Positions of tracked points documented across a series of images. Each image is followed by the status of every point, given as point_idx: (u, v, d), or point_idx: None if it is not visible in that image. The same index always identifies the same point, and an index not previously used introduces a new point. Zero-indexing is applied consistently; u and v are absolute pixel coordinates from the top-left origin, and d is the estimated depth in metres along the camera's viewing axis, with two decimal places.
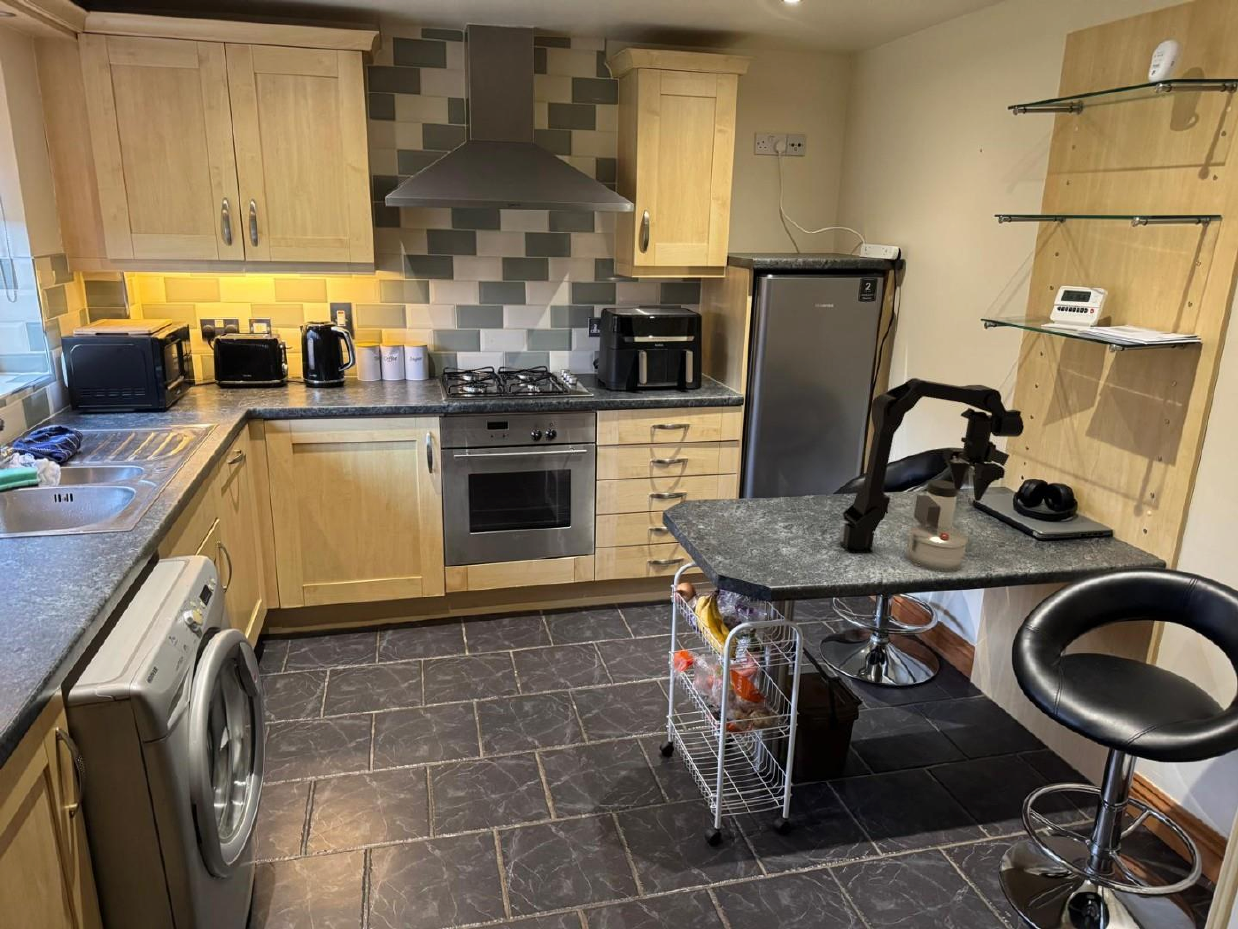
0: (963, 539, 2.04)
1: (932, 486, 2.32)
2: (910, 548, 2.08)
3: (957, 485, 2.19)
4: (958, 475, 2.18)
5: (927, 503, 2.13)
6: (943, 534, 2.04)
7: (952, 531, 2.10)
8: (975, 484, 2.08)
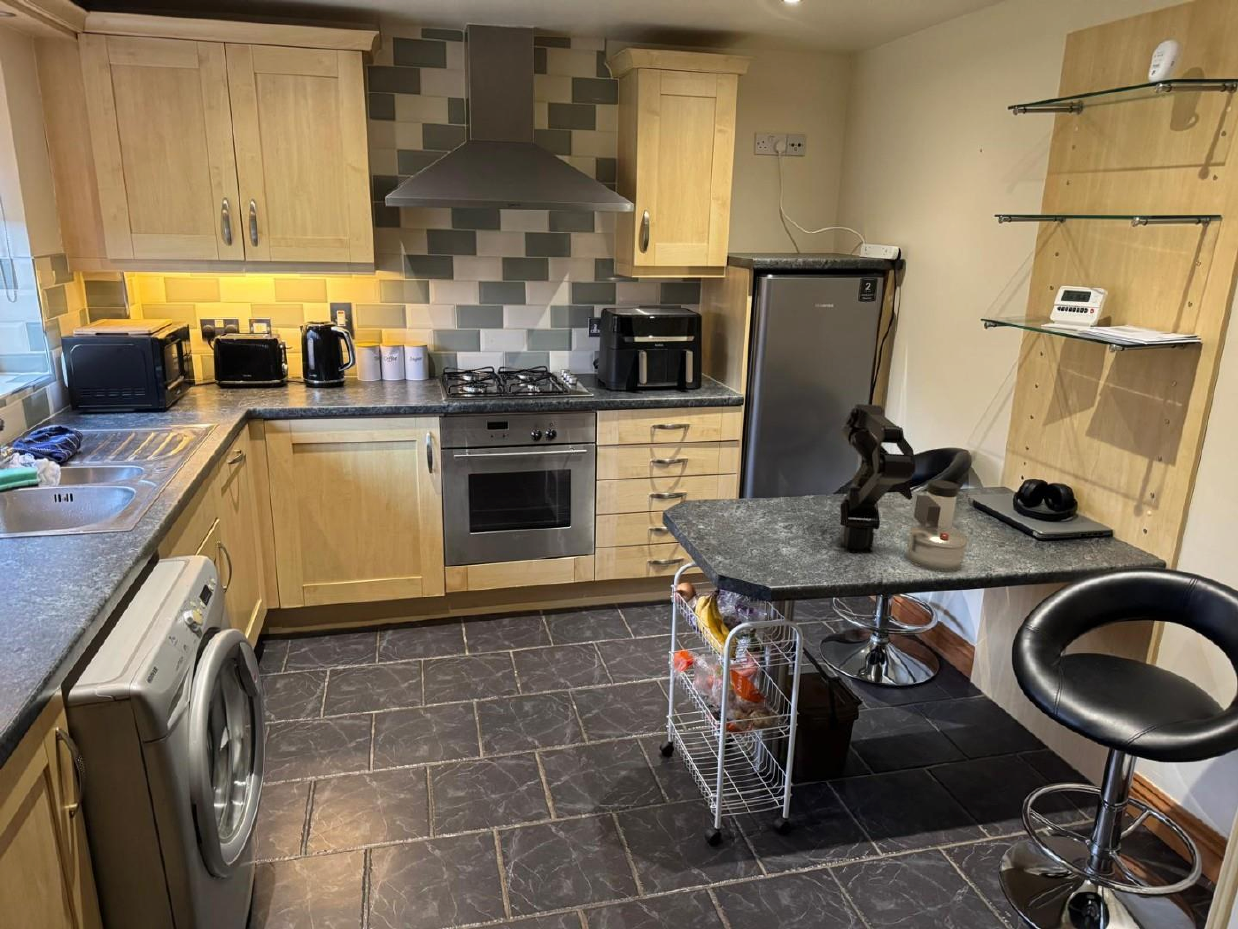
0: (963, 539, 2.04)
1: (932, 486, 2.32)
2: (910, 548, 2.08)
3: None
4: None
5: (927, 503, 2.13)
6: (943, 534, 2.04)
7: (952, 531, 2.10)
8: None
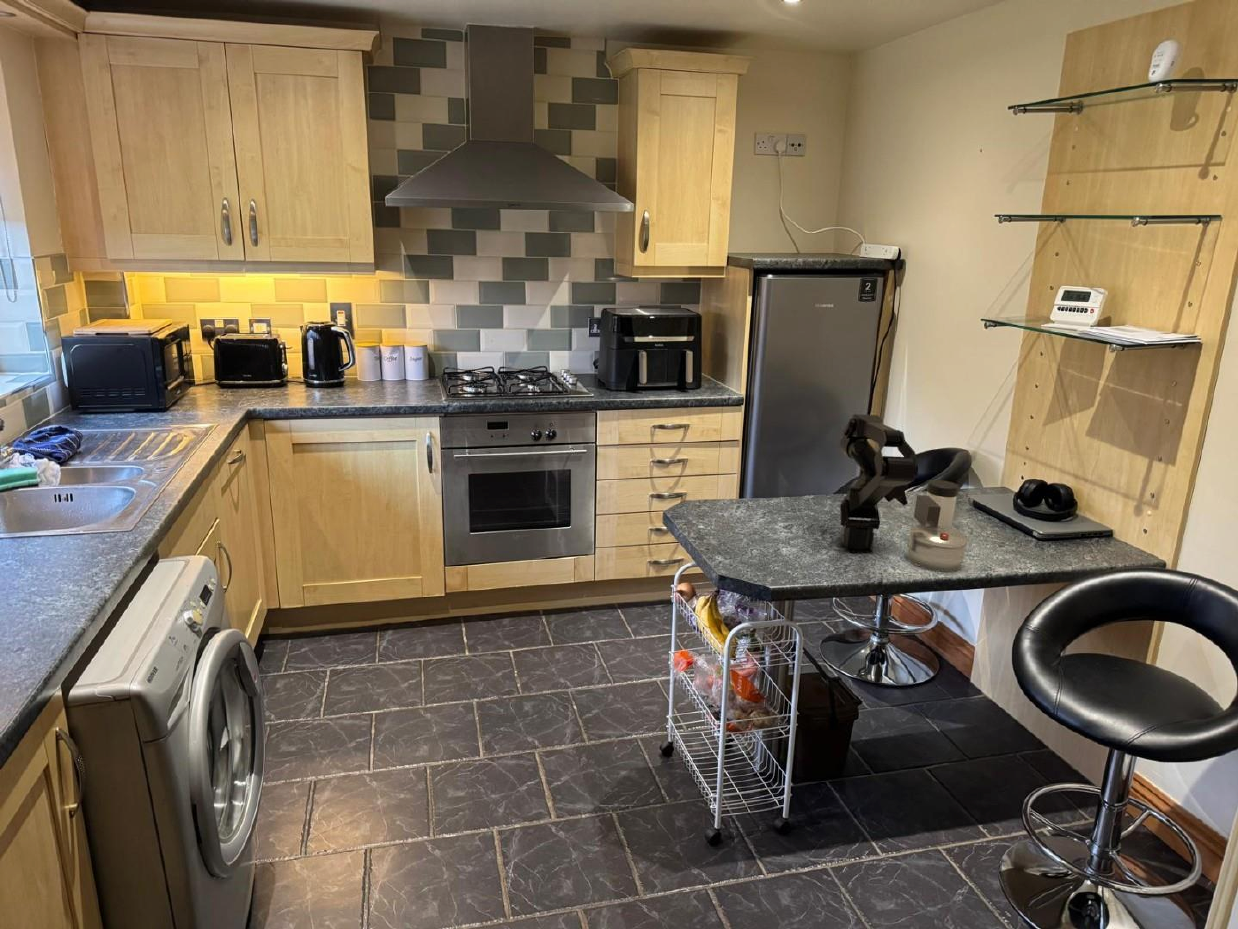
0: (963, 539, 2.04)
1: (932, 486, 2.32)
2: (910, 548, 2.08)
3: None
4: None
5: (927, 503, 2.13)
6: (943, 534, 2.04)
7: (952, 531, 2.10)
8: None
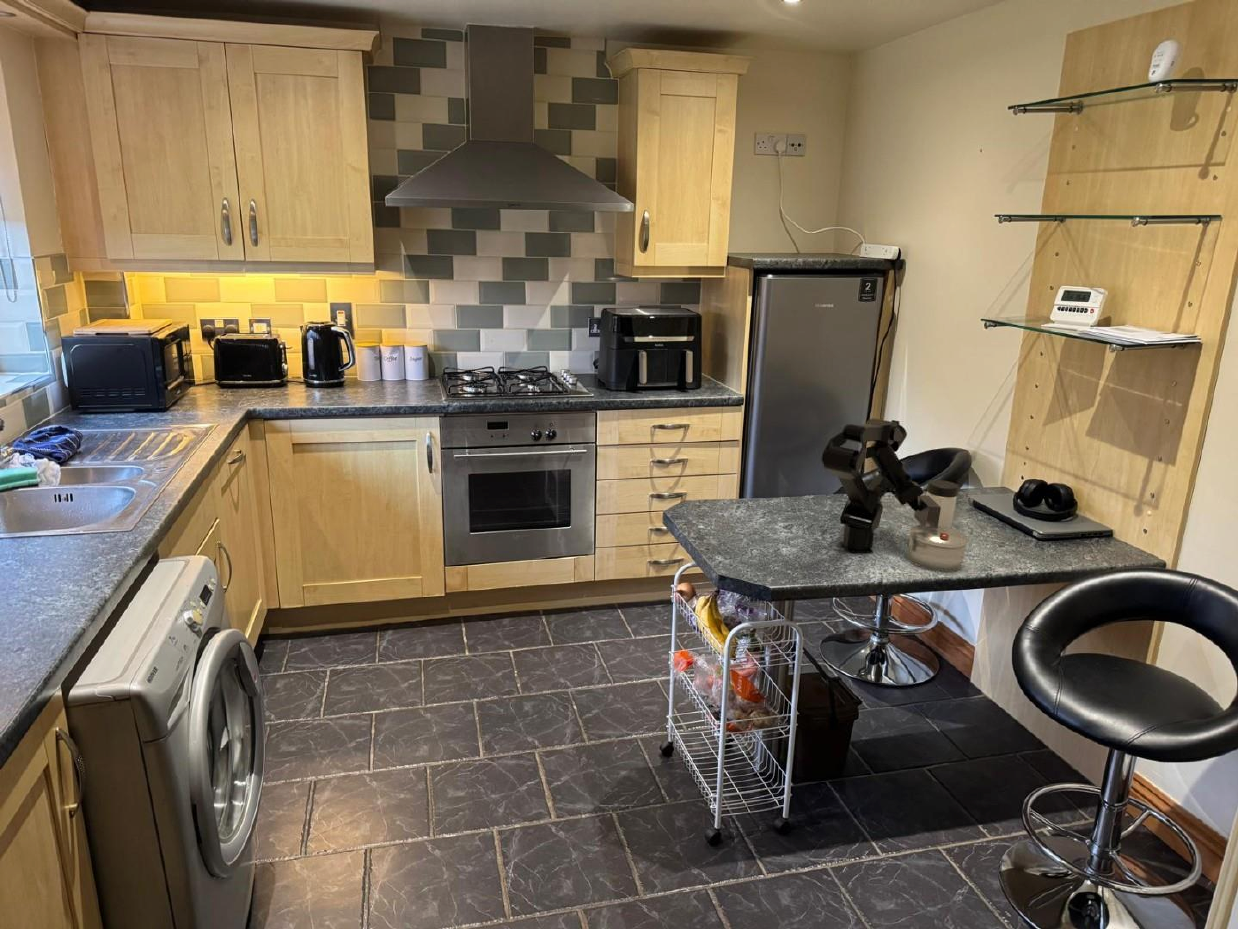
0: (963, 539, 2.04)
1: (932, 486, 2.32)
2: (910, 548, 2.08)
3: None
4: None
5: (927, 503, 2.13)
6: (943, 534, 2.04)
7: (952, 531, 2.10)
8: None
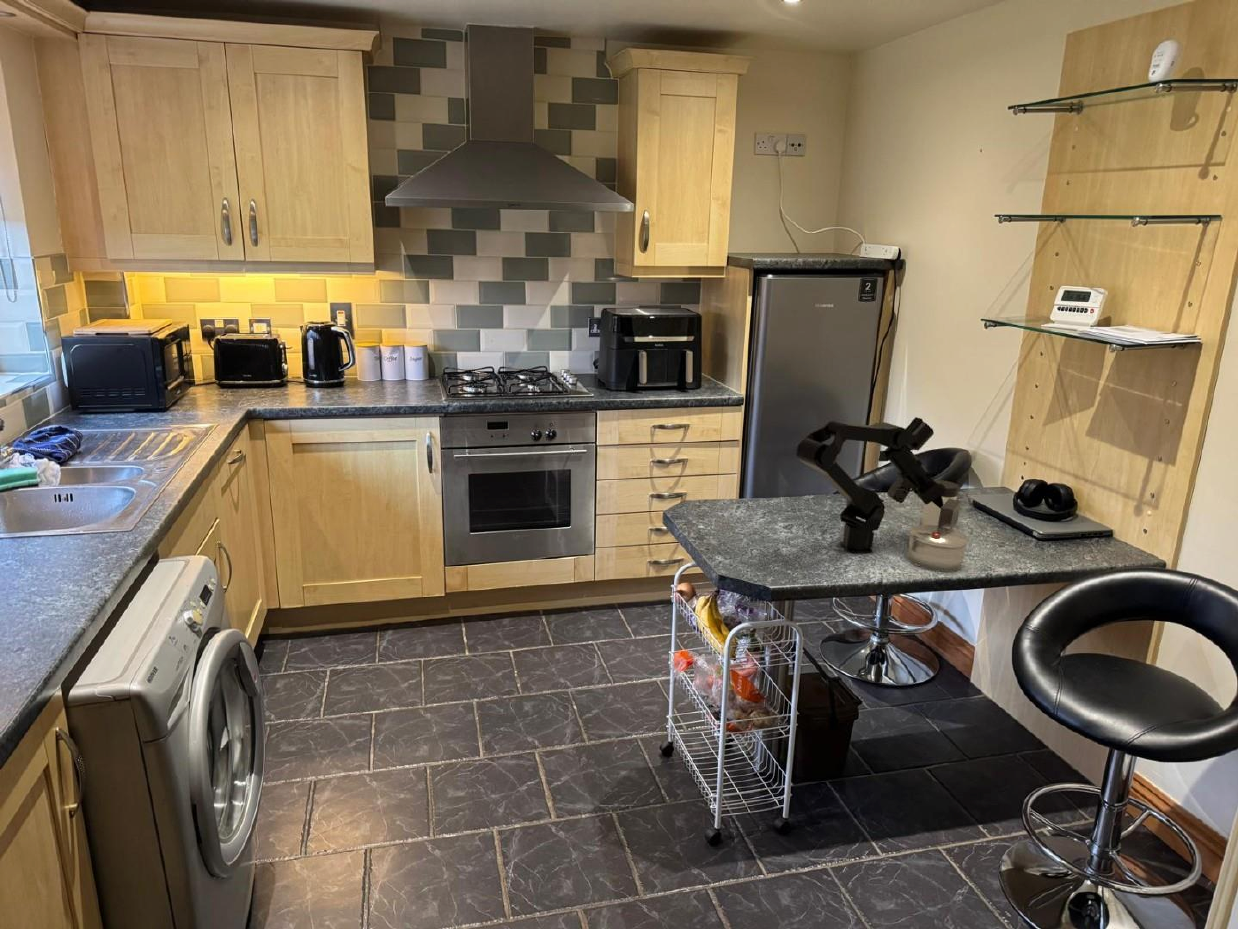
0: (957, 542, 2.02)
1: None
2: (910, 548, 2.08)
3: None
4: None
5: (944, 505, 2.13)
6: (935, 533, 2.04)
7: (959, 535, 2.07)
8: None
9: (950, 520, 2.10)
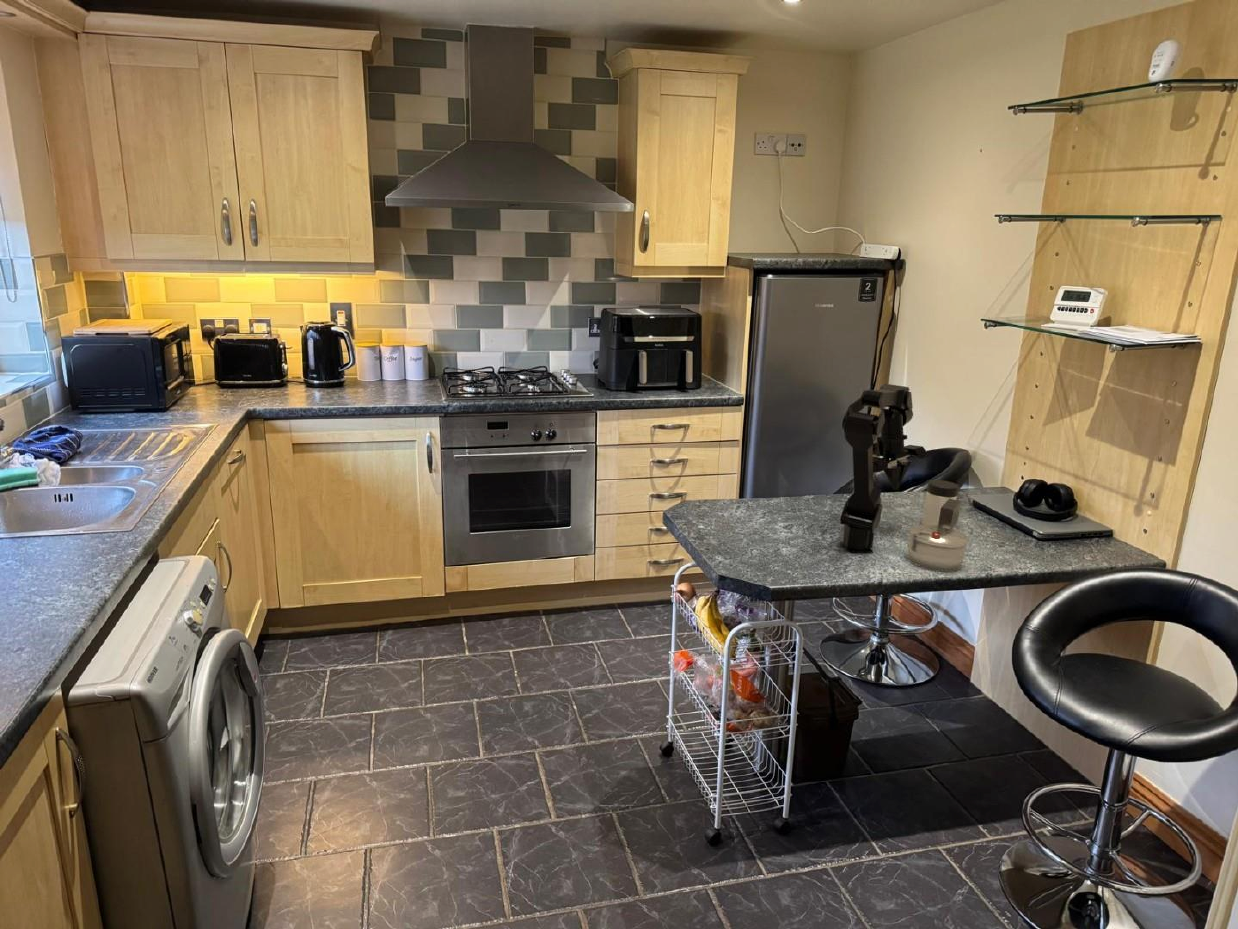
0: (957, 542, 2.02)
1: (932, 486, 2.32)
2: (910, 548, 2.08)
3: None
4: None
5: (944, 505, 2.13)
6: (935, 533, 2.04)
7: (959, 535, 2.07)
8: (905, 472, 2.20)
9: (950, 520, 2.10)
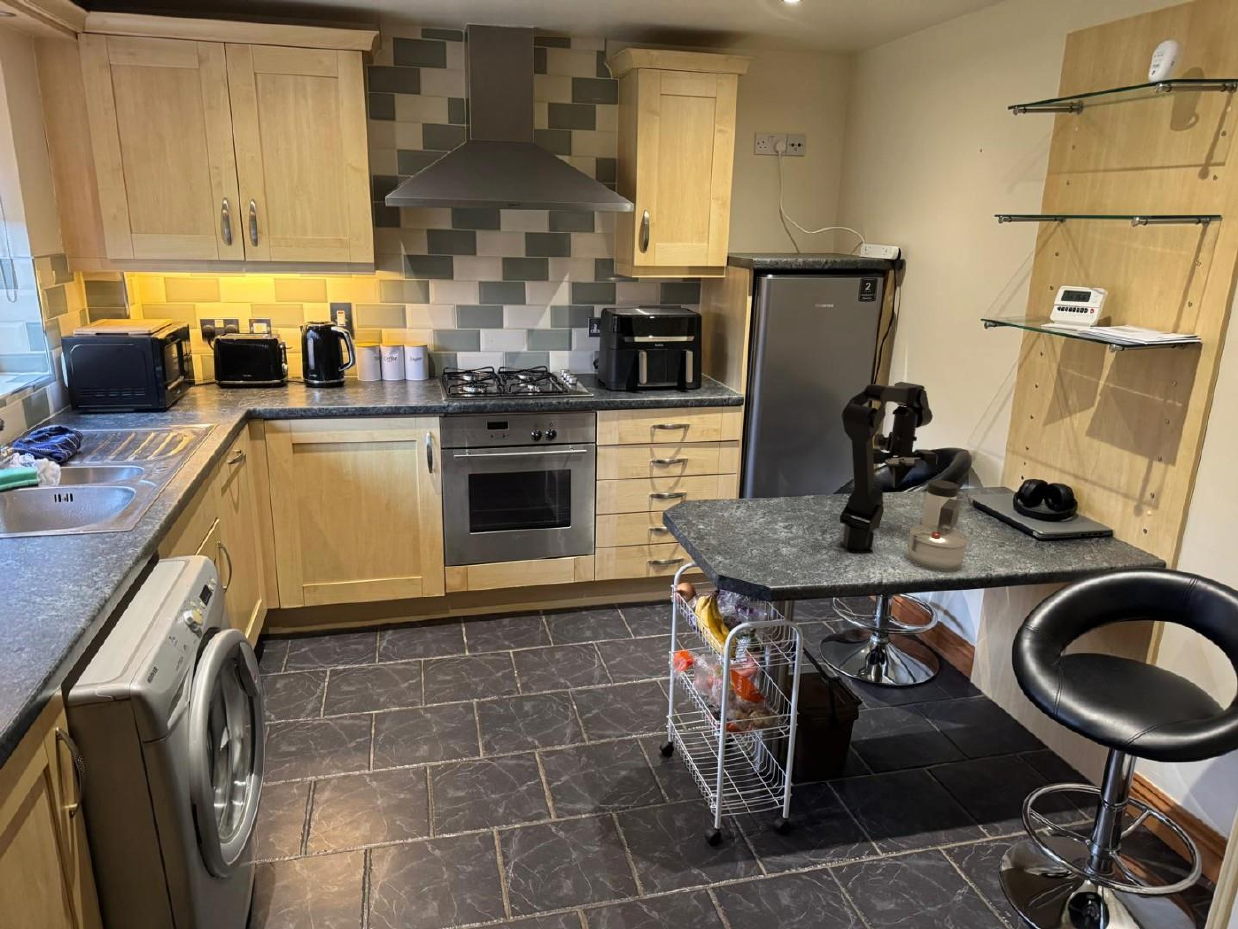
0: (957, 542, 2.02)
1: (932, 486, 2.32)
2: (910, 548, 2.08)
3: None
4: None
5: (944, 505, 2.13)
6: (935, 533, 2.04)
7: (959, 535, 2.07)
8: (906, 473, 2.20)
9: (950, 520, 2.10)
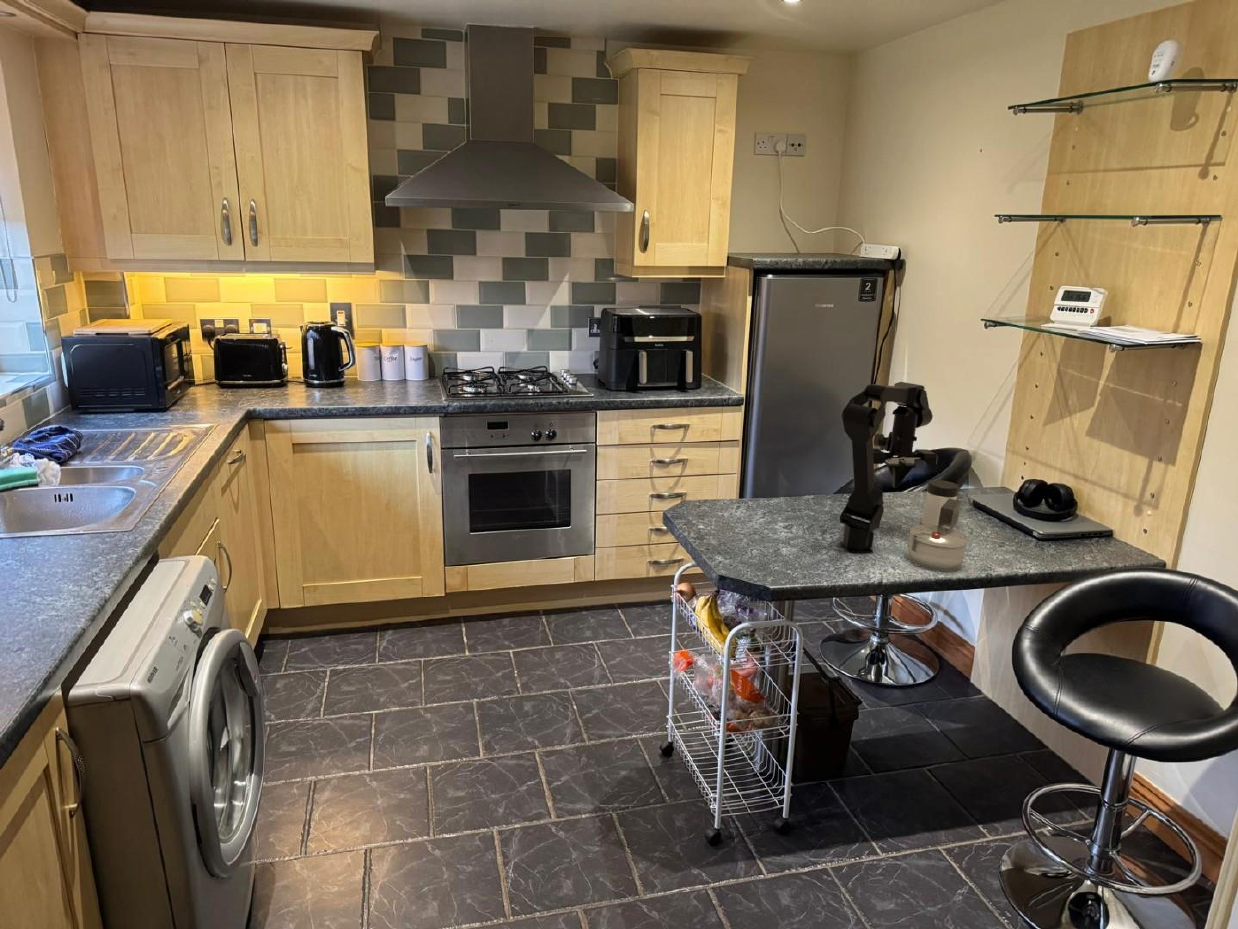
0: (957, 542, 2.02)
1: (932, 486, 2.32)
2: (910, 548, 2.08)
3: None
4: None
5: (944, 505, 2.13)
6: (935, 533, 2.04)
7: (959, 535, 2.07)
8: (906, 473, 2.20)
9: (950, 520, 2.10)
